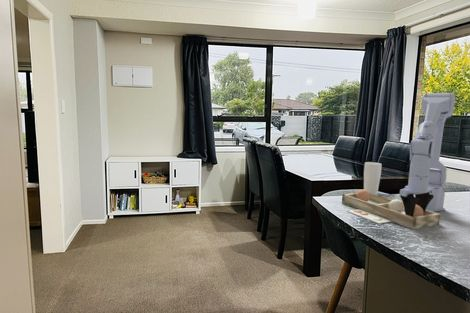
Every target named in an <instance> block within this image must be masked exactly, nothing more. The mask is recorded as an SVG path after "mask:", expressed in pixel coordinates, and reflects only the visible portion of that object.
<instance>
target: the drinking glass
mask: <svg viewBox="0 0 470 313" xmlns="http://www.w3.org/2000/svg"><path fill="white" fill-rule="evenodd" d="M382 165H383V164H382V163H380V162H373V161H366V162H364V166H363V168H364V169H363V190H367V191H368V192H369V193H371V194H375V195H378V193H379V192H378V191H379V188H380V187H379V186H380V181H381V175H382Z"/></svg>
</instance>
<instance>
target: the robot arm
mask: <svg viewBox="0 0 470 313" xmlns="http://www.w3.org/2000/svg"><path fill="white" fill-rule="evenodd" d="M455 104H456V93H454V92H436V93H435V92H429V93H428V92H424V93H423V94H422V96H421V103H420V107H421V109H422V112H423V115H424V121H423V122H421V123H420V124H419V125H418V127H417V132H416V135H415V136H414V137H415V138H414V139H412V140H411V141H410V144H409V161H410V164H409V171H408V173H409V174H408V183H407V185H405V186H404V188H401V189H399V197H400V200H401V201H402V202H403V204H404V208H405V214H406V215H409V216H412V217H413V214H414V210H415V206H416V205H418V206H420V207H421V208H422V209H423V212H424V213H425V210H429V211H432V212H435V213H436V212H440V211H445V210H446V208H444V203H445V196H446V195H445V194H446V193H445V190H444V187H445V185H446V182H447V171H448V170H447V166H446V165H445V164H443V163H442V162H441V161H440V156H441V151H442V150H441V148H442V142H443V134H444V127H445V123H446V120H447V118H450V117H452V116H453V113H454V110H455ZM423 215H424V214H423Z"/></svg>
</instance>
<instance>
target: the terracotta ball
mask: <svg viewBox="0 0 470 313" xmlns="http://www.w3.org/2000/svg"><path fill="white" fill-rule="evenodd" d="M423 214H424V212H423V209H422V208H421V207H420V206H418V205H416V206H415V210H414V214H413V217H418V216H423Z"/></svg>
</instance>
